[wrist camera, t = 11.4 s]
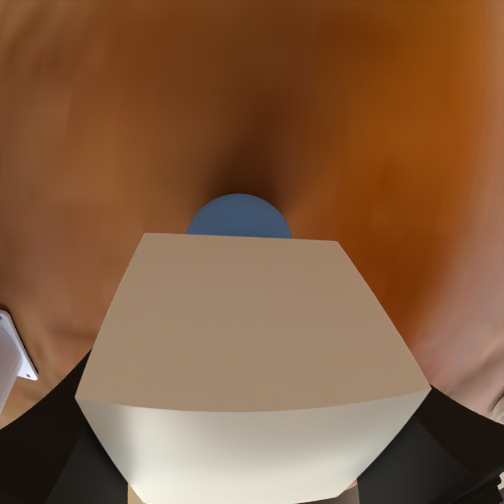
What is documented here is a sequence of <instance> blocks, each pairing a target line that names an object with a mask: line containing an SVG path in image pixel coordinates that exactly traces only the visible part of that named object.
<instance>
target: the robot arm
mask: <svg viewBox="0 0 504 504" xmlns="http://www.w3.org/2000/svg"><path fill="white" fill-rule="evenodd" d="M92 348H93V347H92ZM91 351H92V349H91V350H90V351H89V352H88V353H87V354H86V356H85V357H84V358H83V359H82V360H81V361H80V362H79V363H78V364H77V365H76V367H75V368H74V369H73V370H72V371H71V372H70V373H69V374H68V375H67V376H66V377H65V378H64V379H63V380H62V381H61V382H60V383H59V384H58V385H57V386H56V387H55V388H54V389H53V390H52V391H51V392H50V393H48V394H47V395H46V396H45V397H44V398H43V399H42V400H40V401H39V402H38V403H37V404H36V405H34V406H33V407H32V408H31V409H29V410H28V411H27V412H25V413H24V414H23V415H21V416H20V417H19V418H17V419H16V420H14V421H13V422H11V423H10V424H8V425H7V426H5V427H4V428H2V429H1V430H0V504H128V503H127V502H128V495H127V494H128V482H127V481H126V479H125V478H124V477H123V475H122V474H121V472H120V471H119V470H118V468H117V467H116V465H115V464H114V462H113V461H112V459H111V458H110V456H109V455H108V453H107V452H106V450H105V449H104V447H103V446H102V444H101V442H100V441H99V439H98V438H97V436H96V434H95V433H94V431H93V429H92V428H91V426H90V424H89V422H88V421H87V419H86V417H85V415H84V414H83V412H82V410H81V408H80V406H79V404H78V403H77V401H76V399H75V395H76V392H77V389H78V386H79V383H80V381H81V378H82V375H83V372H84V370H85V367H86V364H87V361H88V359H89V356H90V354H91ZM17 376H20V377H24V378H28V379H32V380H37V379H38V377H39V376H38V374H37V372H36V370H35V368H34V366H33V365H32V363H31V361H30V359H29V357H28V355H27V353H26V351H25V349H24V346H23V344H22V342H21V340H20V338H19V336H18V334H17V331H16V329H15V327H14V324H13V322H12V320H11V317H10V315H9V314H8V312H6V311H4V310H0V414H1V412H2V409H3V407H4V404H5V402H6V400H7V398H8V395H9V393H10V391H11V389H12V387H13V384H14V382H15V380H16V378H17ZM430 386H431V388H432V389H431V390H430V392H429V393H428V395H427V396H426V397H425V399H424V400H423V401H422V403H421V404H420V406H419V407H418V408H417V410H416V411H415V412H414V414H413V415H412V416H411V417H410V419H409V420H408V421H407V423H406V424H405V425H404V426H403V427H402V429H401V430H400V431H399V432H398V434H397V435H396V436H395V437H394V438H393V440H392V441H391V442H390V443H389V444H388V445H387V446H386V448H385V449H384V450H383V451H382V452H381V453H380V454H379V455H378V457H377V458H376V459H375V460H374V461H373V462H372V463H371V464H370V465H369V466H368V467H367V468H366V469H365V470H364V471H363V472H362V473H361V474H360V475H359V476H358V477H357V483H358V491H359V501H360V504H504V488H502V489H501V490H499V489H498V487H497V485H499V484H500V483H501V478H500V476H499V475H500V474H501V473H502V472H504V424H501V423H498V422H495V421H493V420H491V419H488V418H486V417H484V416H482V415H480V414H478V413H476V412H474V411H472V410H470V409H468V408H466V407H464V406H463V405H461V404H459V403H458V402H456V401H454V400H452V399H451V398H449V397H448V396H446V395H445V394H443V393H442V392H440V391H439V390H438V389H436V388H435V387H433V386H432V385H431V384H430Z"/></svg>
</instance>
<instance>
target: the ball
mask: <svg viewBox="0 0 504 504" xmlns="http://www.w3.org/2000/svg"><path fill="white" fill-rule="evenodd" d="M186 234H190V235H216V236H240V237H263V238H284V239H292V236H291V232H290V229H289V227H288V224H287V222H286V221H285V219H284V217H283V216H282V215H281V213H280V212H279V211H278V210H277V209H276V208H275V207H274V206H272V205H271V204H270V203H268V202H267V201H265V200H263V199H261V198H259V197H256V196H253V195H249V194H229V195H225V196H222V197H219V198H216V199H214V200H212V201H211V202H209V203H208V204H206V205H205V206H204V207H202V208H201V209H200V210H199V211H198V212H197V214H196V215H195V216H194V218H193V219H192V221H191V223H190V225H189V227H188V230H187V233H186Z"/></svg>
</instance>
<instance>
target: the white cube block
mask: <svg viewBox="0 0 504 504" xmlns="http://www.w3.org/2000/svg"><path fill="white" fill-rule="evenodd" d="M431 389H432V388H431V386H430V384H429V383H428V381H427V379H426V378H425V376H424V374H423V372H422V371H421V369H420V367H419V366H418V364H417V362H416V360H415V359H414V357H413V355H412V354H411V352H410V350H409V349H408V347H407V346H406V344H405V342H404V341H403V339H402V337H401V336H400V334H399V333H398V331H397V329H396V328H395V326H394V325H393V323H392V322H391V320H390V318H389V317H388V315H387V314H386V312H385V311H384V309H383V308H382V306H381V304H380V303H379V301H378V300H377V298H376V297H375V295H374V294H373V292H372V291H371V289H370V288H369V286H368V285H367V283H366V282H365V280H364V279H363V278H362V276H361V275H360V273H359V272H358V270H357V269H356V267H355V266H354V264H353V263H352V262H351V260H350V259H349V257H348V256H347V255H346V253H345V252H344V250H343V249H342V247H341V246H340V245H339V243H338V242H337V241H324V240H305V239H284V238H263V237H240V236H216V235H190V234H162V233H144V235H143V237H142V239H141V241H140V243H139V245H138V247H137V249H136V251H135V253H134V255H133V257H132V259H131V261H130V264H129V266H128V268H127V270H126V272H125V274H124V276H123V278H122V280H121V283H120V285H119V287H118V289H117V291H116V294H115V296H114V298H113V300H112V303H111V305H110V307H109V310H108V312H107V314H106V317H105V319H104V321H103V324H102V326H101V328H100V331H99V333H98V336H97V338H96V341H95V343H94V346H93V348H92V351H91V354H90V356H89V359H88V361H87V364H86V367H85V370H84V372H83V375H82V378H81V381H80V383H79V386H78V389H77V392H76V395H75V399H76V401H77V403H78V404H79V406H80V408H81V410H82V412H83V414H84V415H85V417H86V419H87V421H88V422H89V424H90V426H91V428H92V429H93V431H94V433H95V434H96V436H97V438H98V439H99V441H100V442H101V444H102V446H103V447H104V449H105V450H106V452H107V453H108V455H109V456H110V458H111V459H112V461H113V462H114V464H115V465H116V467H117V468H118V470H119V471H120V472H121V474H122V475H123V477H124V478H125V479H126V481H127V482H128V483H129V484H130V486H131V487H132V489H133V490H134V491H135V492H136V494H137V495H138V496H139V498H140V499H141V500H142V501H143V503H149V504H295V503H302V502H309V501H316V500H322V499H327V498H333V497H337V496H338V495H339V494H341V493H342V491H344V490H345V489H346V488H347V487H348V486H349V485H350V484H351V483H352V482H353V481H354V480H355V479H356V478H357V477H358V476H359V475H360V474H361V473H362V472H363V471H364V470H365V469H366V468H367V467H368V466H369V465H370V464H371V463H372V462H373V461H374V460H375V459H376V458H377V457H378V455H379V454H380V453H381V452H382V451H383V450H384V449H385V448H386V446H387V445H388V444H389V443H390V442H391V441H392V440H393V438H394V437H395V436H396V435H397V434H398V432H399V431H400V430H401V429H402V427H403V426H404V425H405V424H406V423H407V421H408V420H409V419H410V417H411V416H412V415H413V414H414V412H415V411H416V410H417V408H418V407H419V406H420V404H421V403H422V401H423V400H424V399H425V397H426V396H427V395H428V393H429V392H430V390H431Z"/></svg>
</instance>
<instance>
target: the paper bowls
mask: <svg viewBox="0 0 504 504" xmlns="http://www.w3.org/2000/svg"><path fill="white" fill-rule="evenodd" d="M493 421H495V422H498V423H501V424H504V395H503V397H502V398H501V399H500V400H499V401H498V403H497V404H496V406H495V407H494V410H493Z"/></svg>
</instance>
